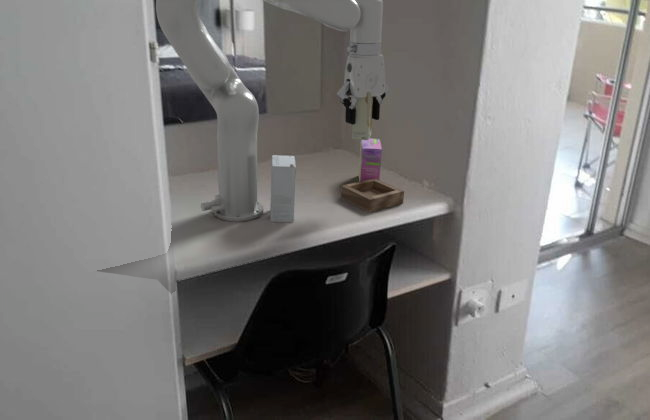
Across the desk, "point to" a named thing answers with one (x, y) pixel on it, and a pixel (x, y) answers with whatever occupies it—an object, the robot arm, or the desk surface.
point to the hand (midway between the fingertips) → (362, 120)
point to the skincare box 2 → (363, 118)
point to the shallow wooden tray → (372, 194)
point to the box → (370, 159)
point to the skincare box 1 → (283, 188)
